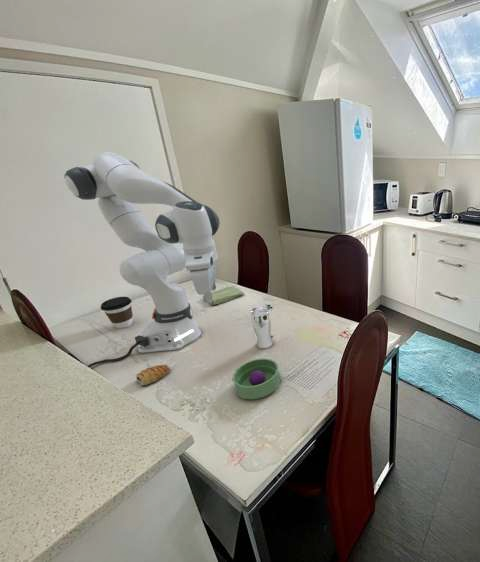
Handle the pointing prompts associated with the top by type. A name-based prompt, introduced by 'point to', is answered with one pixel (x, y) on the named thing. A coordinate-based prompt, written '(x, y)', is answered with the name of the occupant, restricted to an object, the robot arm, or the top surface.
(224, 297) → the washcloth
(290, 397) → the top surface
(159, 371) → the pastry
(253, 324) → the beer glass
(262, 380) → the ball
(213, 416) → the top surface
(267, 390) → the bowl
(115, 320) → the coffee cup
